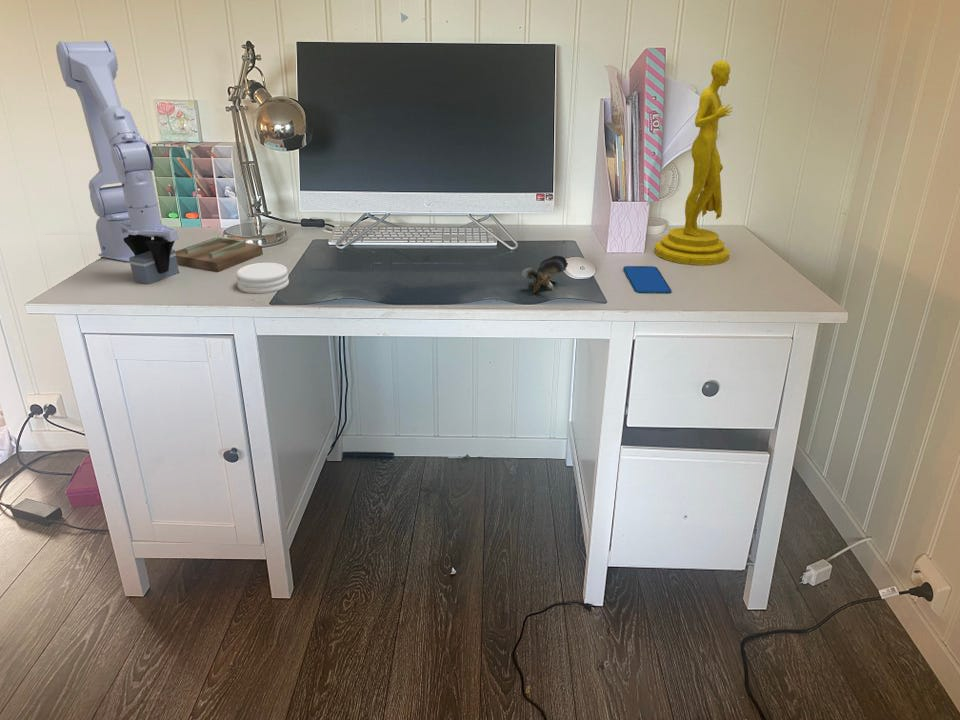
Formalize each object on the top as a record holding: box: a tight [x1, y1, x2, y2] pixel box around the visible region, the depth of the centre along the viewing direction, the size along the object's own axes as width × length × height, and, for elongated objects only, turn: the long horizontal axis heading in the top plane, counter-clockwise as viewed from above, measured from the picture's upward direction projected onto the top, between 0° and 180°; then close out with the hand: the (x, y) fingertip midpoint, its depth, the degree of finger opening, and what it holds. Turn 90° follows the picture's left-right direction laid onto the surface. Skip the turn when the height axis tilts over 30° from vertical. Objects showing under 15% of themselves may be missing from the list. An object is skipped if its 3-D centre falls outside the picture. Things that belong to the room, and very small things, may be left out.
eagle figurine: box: [521, 255, 569, 294], centre depth 140 cm, size 8×7×9 cm
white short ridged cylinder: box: [235, 262, 290, 294], centre depth 142 cm, size 10×10×4 cm
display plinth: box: [175, 236, 264, 273], centre depth 157 cm, size 14×14×3 cm
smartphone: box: [622, 265, 672, 295], centre depth 146 cm, size 7×1×15 cm
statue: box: [653, 60, 733, 266], centre depth 154 cm, size 17×17×41 cm
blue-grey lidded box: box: [129, 248, 180, 285], centre depth 145 cm, size 4×8×5 cm, turn 155°
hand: (155, 270), depth 145 cm, fingers closed on blue-grey lidded box, 4 cm apart
